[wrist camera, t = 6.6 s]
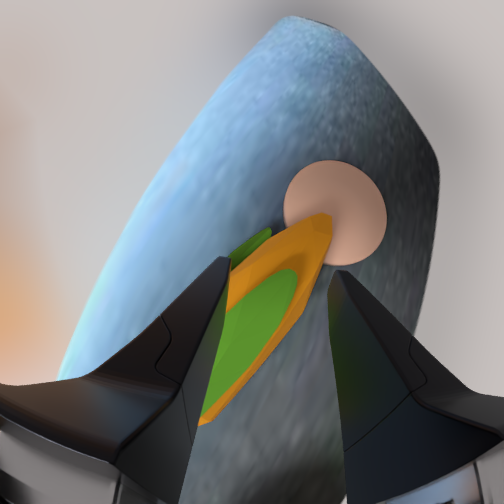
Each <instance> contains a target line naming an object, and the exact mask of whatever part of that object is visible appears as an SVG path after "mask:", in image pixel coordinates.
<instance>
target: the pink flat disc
mask: <svg viewBox="0 0 504 504" xmlns="http://www.w3.org/2000/svg"><path fill="white" fill-rule="evenodd" d="M318 213H325V214H328V215H330V216H332V232H333V236H332V240H331V244H330V246H329V249H328V252H327V254H326V257H325V259H324V262H323V264H324V265H328V266H346V265H350V264H353V263H356V262H358V261H361V260H363V259H365V258H366V257H368V256H369V255H371V254H372V253H373V252H374V251H375V250H376V249H377V247H378V246H379V244H380V243H381V241H382V239H383V236H384V234H385V230H386V223H387V214H386V207H385V204H384V200H383V198H382V195H381V193H380V191H379V190H378V188H377V187H376V185H375V184H374V182H373V181H372V180H371V179H370V178H369V177H368V176H367V175H366V174H365V173H363V172H362V171H361V170H359V169H358V168H356V167H354V166H352V165H350V164H347V163H344V162H340V161H333V160H326V161H319V162H315V163H313V164H310V165H308V166H306V167H305V168H303V169H302V170H301V171H299V172H298V173H297V174H296V176H295V177H294V178H293V180H292V181H291V183H290V185H289V187H288V189H287V192H286V194H285V197H284V201H283V219H284V224H285V227H286V229H287V228H288V227H290V226H292V225H294V224H295V223H297V222H299V221H301V220H303V219H305V218H307V217H309V216H312V215H315V214H318Z"/></svg>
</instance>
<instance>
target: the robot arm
mask: <svg viewBox="0 0 504 504" xmlns="http://www.w3.org/2000/svg"><path fill="white" fill-rule="evenodd" d="M231 262H232V259H231V258H230V257H221V256H219V257H217V258H216V259H215V260H214V261H213V262H212V263H211V264H210V265H209V266H208V267H207V268H206V269H205V270H204V271H203V272H202V273H201V274H200V275H199V276H198V277H197V278H196V279H195V280H194V281H193V282H192V283H191V284H190V285H189V286H188V287H187V288H186V289H185V290H184V291H183V292H182V293H181V294H180V295H179V296H178V297H177V298H176V299H175V300H174V301H173V302H172V303H171V304H170V305H169V306H168V307H167V308H166V309H165V310H164V311H163V312H162V313H161V314H160V316H158V317H157V318H156V319H155V320H154V321H153V322H152V323H151V324H150V325H149V326H148V327H147V328H146V329H145V330H144V331H143V332H141V333H140V334H139V335H138V336H137V337H136V338H134V339H133V340H132V341H131V342H130V343H128V344H127V345H126V346H125V347H123V348H122V349H121V350H119V351H118V352H117V353H116V354H114V355H113V356H112V357H111V358H109V359H108V360H107V361H105V362H104V363H103V364H102V365H100V366H99V367H98V368H96V369H95V370H94V371H92V372H90V373H89V374H86V375H84V376H82V377H79V378H74V379H67V380H61V381H54V382H47V383H39V384H31V385H21V386H13V385H5V384H1V383H0V504H178V502H179V498H180V494H181V490H182V486H183V482H184V478H185V474H186V470H187V466H188V462H189V458H190V454H191V450H192V446H193V442H194V438H195V435H196V431H197V427H198V423H199V419H200V415H201V411H202V407H203V404H204V400H205V396H206V392H207V388H208V384H209V381H210V377H211V373H212V369H213V365H214V362H215V358H216V354H217V350H218V346H219V343H220V339H221V335H222V331H223V327H224V321H225V314H226V306H227V298H228V290H229V282H230V272H231ZM327 297H328V318H329V336H330V344H331V350H332V357H333V364H334V371H335V379H336V386H337V394H338V402H339V411H340V420H341V429H342V439H343V450H344V464H345V477H346V493H347V504H504V397H498V396H491V395H485V394H480V393H477V392H474V391H472V390H471V389H469V388H468V387H466V386H465V385H464V384H463V383H462V382H461V381H460V380H459V379H457V378H456V377H455V376H454V375H453V374H452V373H451V372H450V371H449V370H448V369H447V368H445V367H444V366H443V365H442V364H441V363H440V362H439V361H438V360H437V359H436V358H435V357H434V356H433V355H431V354H430V353H429V352H428V351H427V350H426V349H425V348H424V347H423V346H422V345H421V344H420V343H419V341H418V340H417V339H416V338H415V337H414V336H412V334H411V333H410V332H409V331H408V330H407V329H406V328H405V327H404V326H403V325H402V324H401V323H400V322H399V321H398V320H397V319H396V318H395V317H394V316H393V315H392V314H391V313H390V312H389V311H388V310H387V309H386V308H385V307H384V306H383V305H382V304H381V303H380V302H379V301H378V300H377V299H376V298H375V297H374V296H373V295H372V294H371V293H370V292H369V291H368V290H367V289H366V288H365V287H364V286H363V285H362V284H361V283H360V282H359V281H358V280H357V279H356V278H355V277H354V276H353V275H351V274H350V273H349V272H348V271H344V270H336V271H335V272H334V274H333V277H332V280H331V283H330V285H329V288H328V294H327Z"/></svg>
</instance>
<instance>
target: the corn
mask: <svg viewBox="0 0 504 504" xmlns="http://www.w3.org/2000/svg"><path fill="white" fill-rule="evenodd" d="M271 233H272V231H271V228H269V227H268V228H266V229H264V230H262V231H260V232H259V233H257V234H256V235H254V236H253V237H251V238H250V239H249V240H247V241H246V242H245V243H244V244H242V245H241V246H240V247H238V248H237V249H236V250H234V251H233V252H232V253H231V254H230V255H229V256H228V257H230V258H231V259H232V262H231V272H230V282H229V290H228V298H227V306H226V314H225V321H224V327H223V331H222V335H221V339H220V343H219V346H218V350H217V354H216V358H215V362H214V365H213V369H212V373H211V377H210V381H209V384H208V388H207V392H206V396H205V400H204V404H203V407H202V411H201V415H200V419H199V423H198V426H200V425H203V424H205V423H208V422H211V421H213V420H214V419H215V418H216V417H217V416H218V414H219V413H220V412H221V411H222V410H223V409H224V408H225V407H226V406H227V404H228V403H229V402H230V401H231V400H232V399H233V398H234V396H235V395H236V394H237V393H238V392H239V391H240V390H241V388H242V387H243V386H244V385H245V384H246V383H247V381H248V380H249V379H250V378H251V377H252V376H253V374H254V373H255V372H256V371H257V370H258V368H259V367H260V366H261V365H262V364H263V362H264V361H265V360H266V359H267V357H268V356H269V355H270V354H271V353H272V351H273V350H274V349H275V348H276V346H277V345H278V344H279V343H280V341H281V340H282V339H283V338H284V336H285V335H286V334H287V332H288V331H289V330H290V329H291V327H292V326H293V325H294V323H295V322H296V321H297V320H298V318H299V317H300V316H301V314H302V313H303V311H304V309H305V306H306V304H307V302H308V299H309V297H310V294H311V292H312V289H313V287H314V285H315V282H316V280H317V277H318V275H319V272H320V270H321V267H322V265H323V262H324V259H325V257H326V254H327V252H328V249H329V246H330V244H331V240H332V236H333V232H332V216H330V215H328V214H325V213H318V214H315V215H312V216H309V217H307V218H305V219H303V220H301V221H299V222H297V223H295V224H294V225H292V226H290V227H288V228H287V229H285V230H283V231H281V232H280V233H278V234H276V235H274V236H273V237H271Z"/></svg>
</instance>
